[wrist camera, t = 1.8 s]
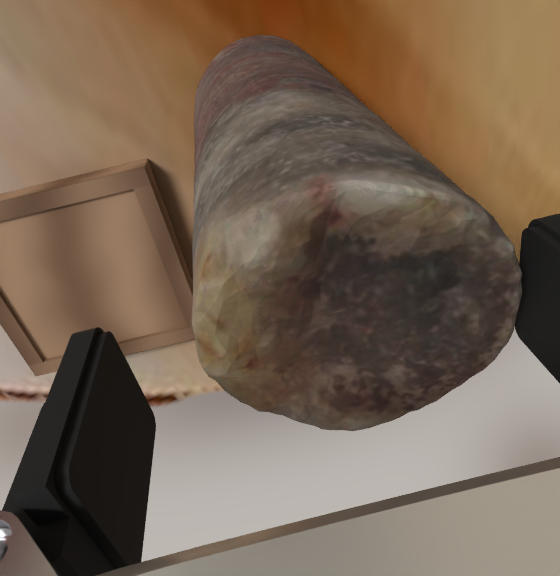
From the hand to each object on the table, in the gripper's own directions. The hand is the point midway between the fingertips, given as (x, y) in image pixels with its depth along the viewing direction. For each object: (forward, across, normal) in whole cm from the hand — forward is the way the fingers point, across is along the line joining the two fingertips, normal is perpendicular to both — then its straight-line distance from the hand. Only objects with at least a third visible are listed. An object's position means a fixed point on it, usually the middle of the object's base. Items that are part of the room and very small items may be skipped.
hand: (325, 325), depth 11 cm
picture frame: (+19, +12, +6) cm, 24 cm away
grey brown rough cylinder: (+19, -1, 0) cm, 19 cm away
